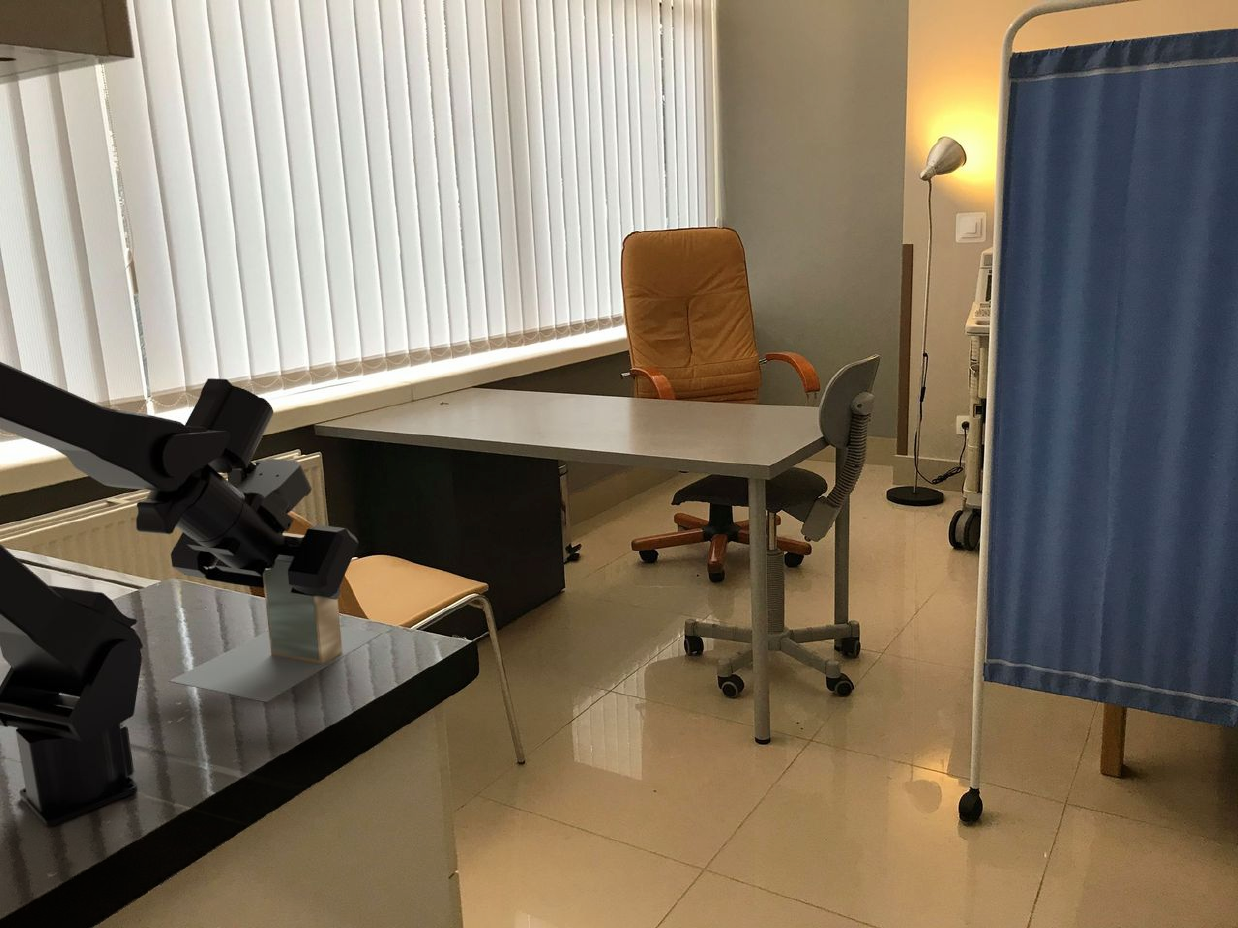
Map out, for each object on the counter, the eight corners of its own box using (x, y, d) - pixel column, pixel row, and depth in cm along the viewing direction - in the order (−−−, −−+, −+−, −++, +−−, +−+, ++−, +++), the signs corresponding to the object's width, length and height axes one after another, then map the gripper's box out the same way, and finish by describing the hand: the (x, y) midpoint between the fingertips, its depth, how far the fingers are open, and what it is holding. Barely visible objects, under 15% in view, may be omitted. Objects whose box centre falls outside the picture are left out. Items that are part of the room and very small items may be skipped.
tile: (321, 664, 98) (310, 547, 95) (270, 654, 101) (258, 540, 98) (342, 652, 101) (332, 538, 98) (291, 643, 103) (280, 532, 101)
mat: (267, 705, 91) (266, 701, 90) (169, 684, 95) (169, 680, 95) (382, 636, 106) (382, 633, 106) (293, 621, 110) (292, 618, 110)
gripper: (336, 444, 88) (417, 530, 101) (180, 432, 96) (273, 513, 108) (282, 555, 83) (374, 631, 95) (121, 533, 91) (226, 606, 103)
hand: (310, 590), depth 101 cm, fingers closed on tile, 6 cm apart
